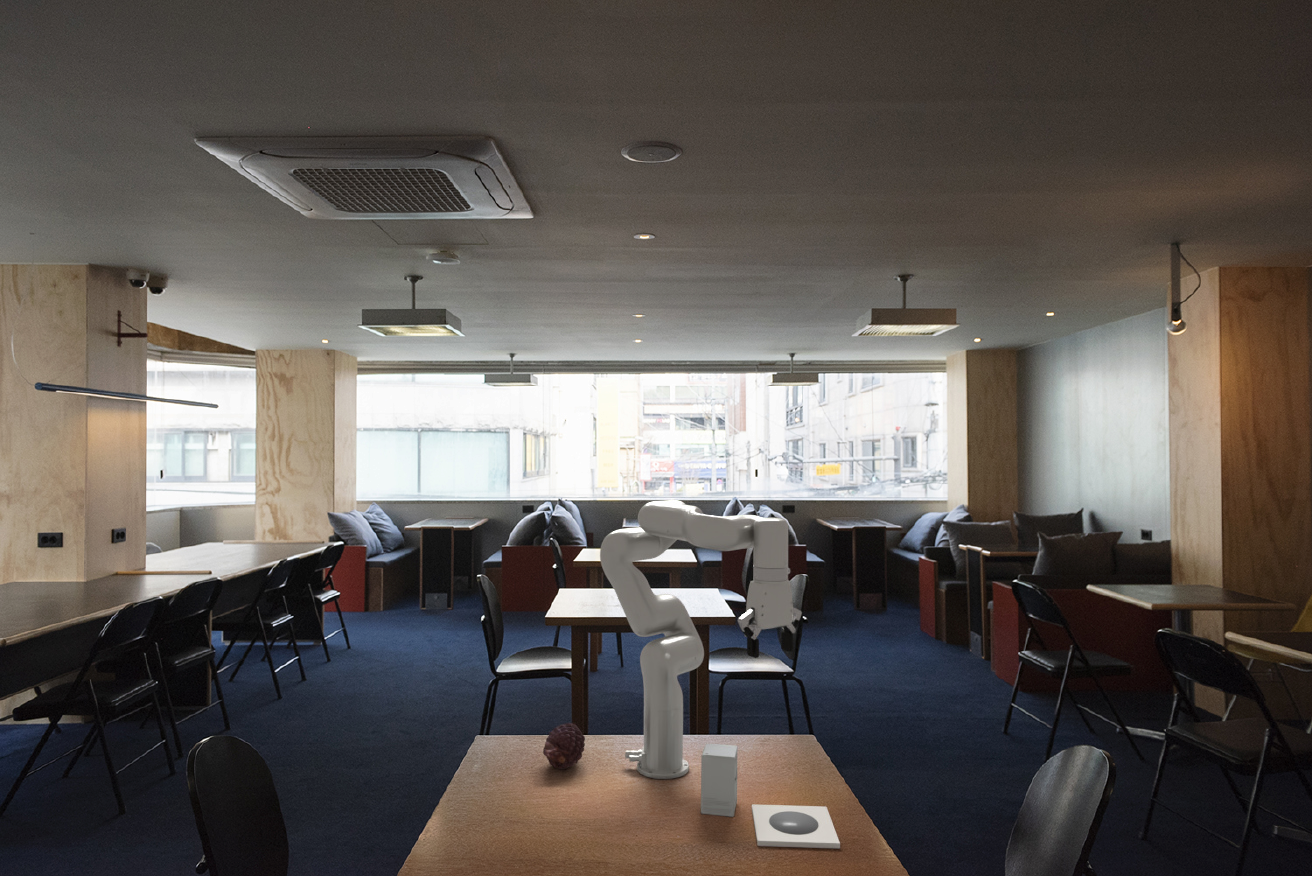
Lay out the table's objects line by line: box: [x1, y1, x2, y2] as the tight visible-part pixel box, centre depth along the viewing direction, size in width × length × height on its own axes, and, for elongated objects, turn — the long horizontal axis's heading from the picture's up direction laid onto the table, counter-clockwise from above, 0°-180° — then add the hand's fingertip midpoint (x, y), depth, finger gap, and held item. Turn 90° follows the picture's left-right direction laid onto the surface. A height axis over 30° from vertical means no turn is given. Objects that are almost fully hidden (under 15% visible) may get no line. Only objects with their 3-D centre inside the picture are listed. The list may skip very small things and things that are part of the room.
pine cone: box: [542, 722, 586, 770], centre depth 195 cm, size 18×10×10 cm, turn 171°
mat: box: [751, 803, 841, 849], centre depth 164 cm, size 16×16×1 cm
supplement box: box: [700, 743, 739, 818], centre depth 172 cm, size 7×7×13 cm
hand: (770, 653), depth 173 cm, fingers open, 9 cm apart
